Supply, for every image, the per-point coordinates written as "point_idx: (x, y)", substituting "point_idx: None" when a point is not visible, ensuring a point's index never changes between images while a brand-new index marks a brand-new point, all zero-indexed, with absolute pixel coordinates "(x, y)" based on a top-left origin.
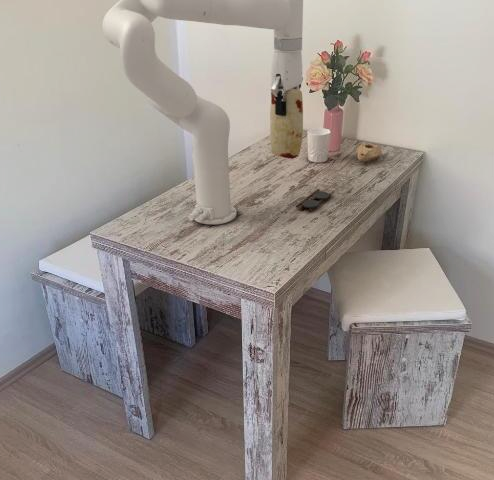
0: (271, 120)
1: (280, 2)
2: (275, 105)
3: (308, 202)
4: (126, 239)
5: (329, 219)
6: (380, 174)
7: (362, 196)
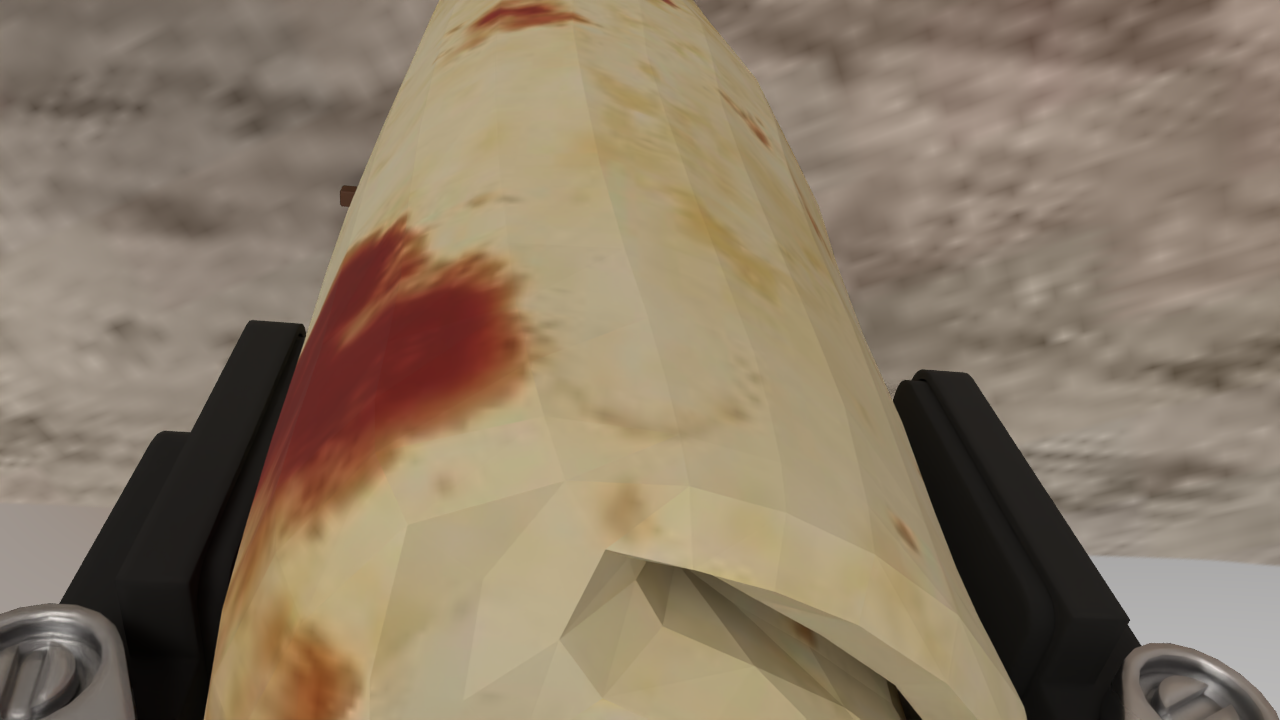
0: (417, 63)
1: None
2: (177, 460)
3: None
4: None
5: None
6: (1171, 473)
7: None
